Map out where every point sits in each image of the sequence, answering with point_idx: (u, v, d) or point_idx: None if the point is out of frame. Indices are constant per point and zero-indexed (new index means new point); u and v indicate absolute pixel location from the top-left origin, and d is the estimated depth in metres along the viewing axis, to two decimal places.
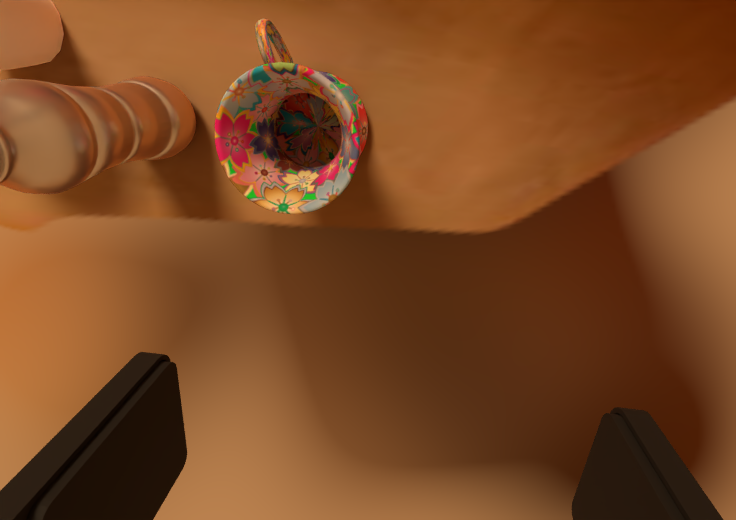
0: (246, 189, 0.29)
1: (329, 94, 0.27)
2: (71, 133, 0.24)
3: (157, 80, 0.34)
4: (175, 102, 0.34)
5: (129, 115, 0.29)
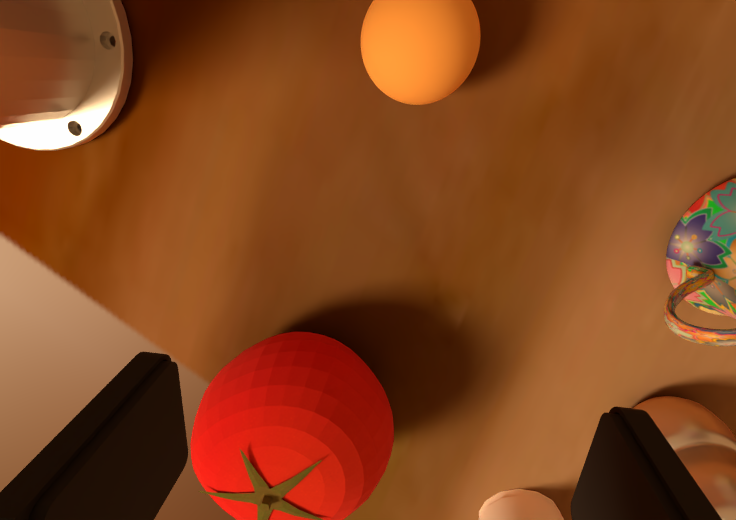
0: None
1: None
2: None
3: None
4: (678, 426, 0.26)
5: None
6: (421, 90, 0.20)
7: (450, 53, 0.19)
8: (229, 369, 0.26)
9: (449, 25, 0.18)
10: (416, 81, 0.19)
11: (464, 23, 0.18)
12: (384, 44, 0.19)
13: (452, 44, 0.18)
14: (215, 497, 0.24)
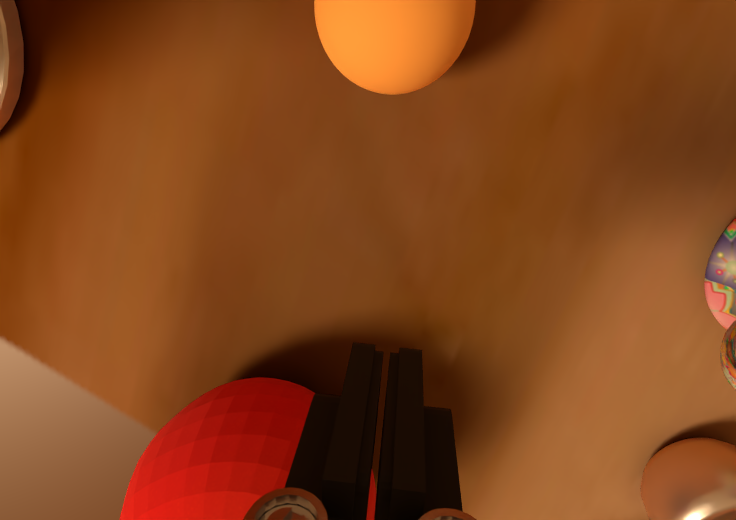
0: None
1: None
2: None
3: (667, 488, 0.23)
4: (719, 481, 0.21)
5: None
6: (397, 74, 0.14)
7: (436, 21, 0.13)
8: (166, 434, 0.20)
9: None
10: (390, 61, 0.14)
11: None
12: (343, 9, 0.13)
13: (438, 8, 0.13)
14: None
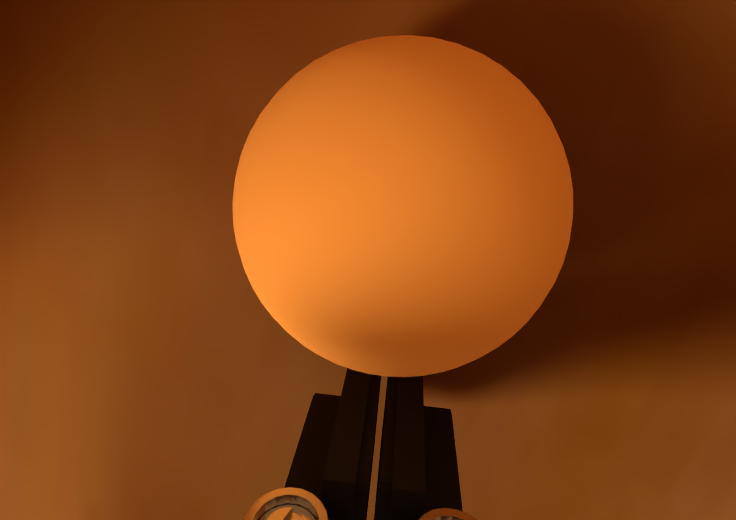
0: None
1: None
2: None
3: None
4: None
5: None
6: (408, 375, 0.07)
7: (496, 307, 0.06)
8: None
9: (493, 232, 0.05)
10: (391, 369, 0.06)
11: (541, 211, 0.05)
12: (278, 280, 0.06)
13: (503, 284, 0.05)
14: None
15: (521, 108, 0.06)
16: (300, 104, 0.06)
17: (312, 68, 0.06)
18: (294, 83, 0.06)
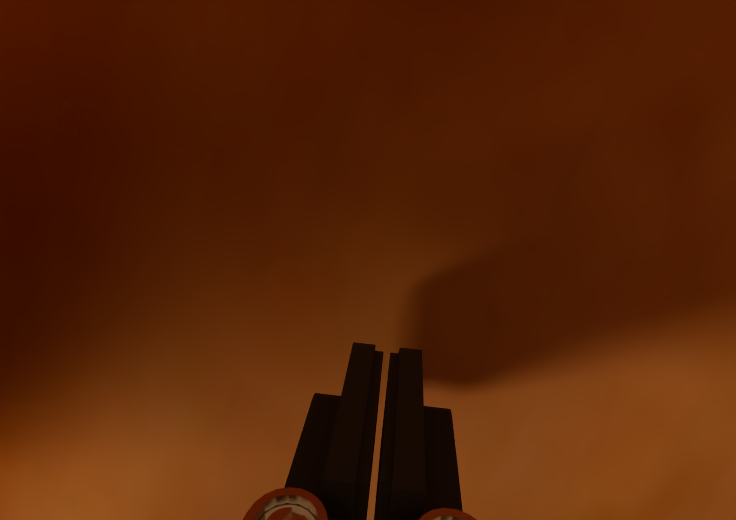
0: None
1: None
2: None
3: None
4: None
5: None
6: None
7: None
8: None
9: None
10: None
11: None
12: None
13: None
14: None
15: None
16: None
17: None
18: None
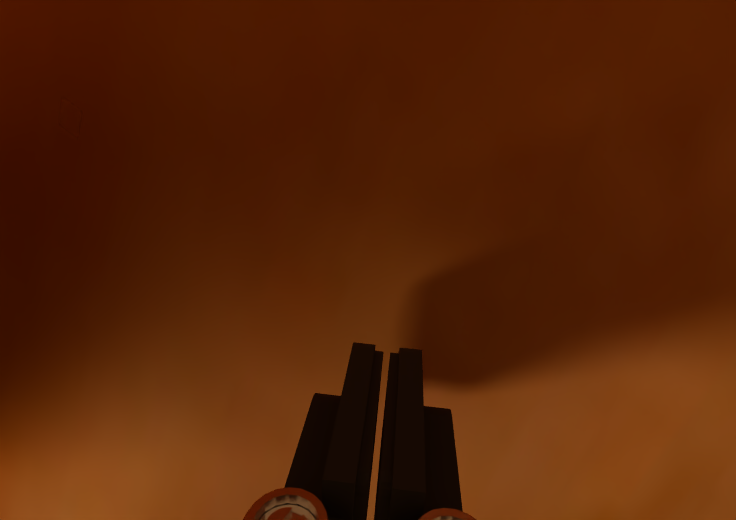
0: None
1: None
2: None
3: None
4: None
5: None
6: None
7: None
8: None
9: None
10: None
11: None
12: None
13: None
14: None
15: None
16: None
17: None
18: None
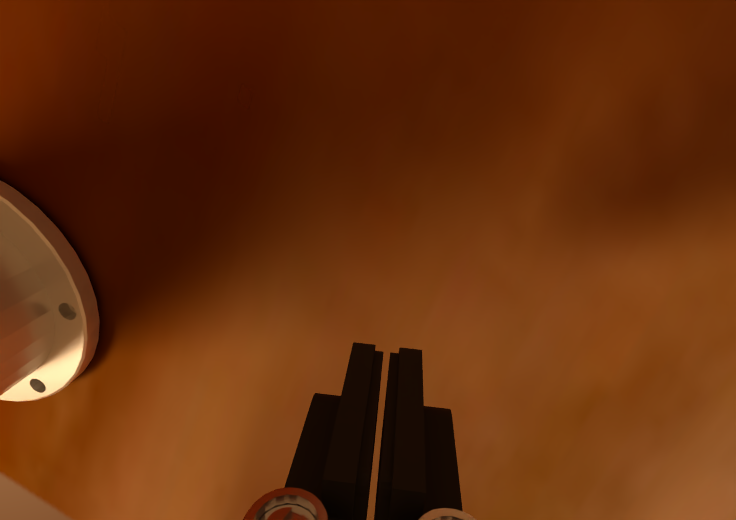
0: None
1: None
2: None
3: None
4: None
5: None
6: None
7: None
8: None
9: None
10: None
11: None
12: None
13: None
14: None
15: None
16: None
17: None
18: None
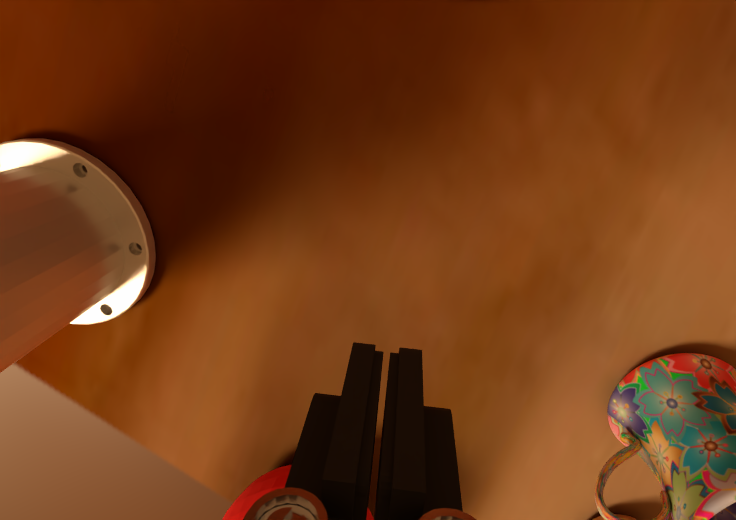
0: None
1: None
2: None
3: None
4: None
5: None
6: None
7: None
8: (241, 510, 0.30)
9: None
10: None
11: None
12: None
13: None
14: None
15: None
16: None
17: None
18: None
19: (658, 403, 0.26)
